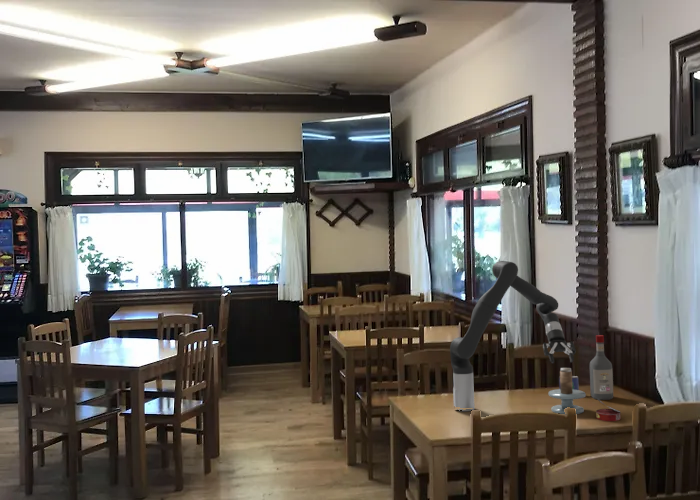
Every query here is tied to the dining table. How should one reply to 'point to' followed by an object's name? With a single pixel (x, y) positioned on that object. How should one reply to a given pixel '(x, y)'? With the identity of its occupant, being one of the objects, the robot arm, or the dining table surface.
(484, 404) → the dining table surface
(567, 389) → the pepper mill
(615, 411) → the canned food
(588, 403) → the dining table surface
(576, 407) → the cake stand
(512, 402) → the dining table surface
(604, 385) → the liquor
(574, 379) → the flask
